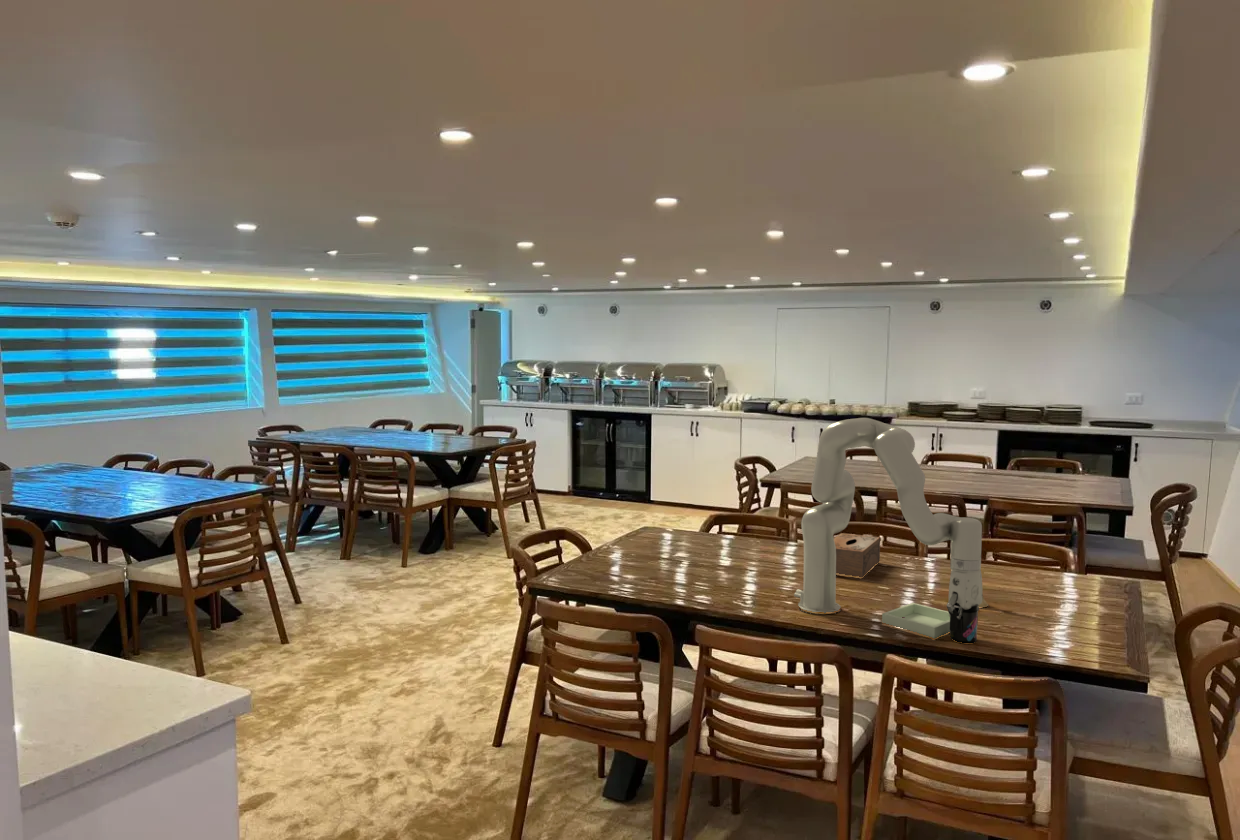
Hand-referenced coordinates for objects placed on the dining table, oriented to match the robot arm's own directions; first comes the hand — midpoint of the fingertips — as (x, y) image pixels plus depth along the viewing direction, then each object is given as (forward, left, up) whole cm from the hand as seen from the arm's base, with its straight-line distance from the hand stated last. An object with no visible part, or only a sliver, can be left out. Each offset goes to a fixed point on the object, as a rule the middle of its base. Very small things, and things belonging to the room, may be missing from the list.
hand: (963, 628), depth 219 cm
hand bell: (-14, +33, -4) cm, 36 cm away
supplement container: (0, 0, -4) cm, 4 cm away
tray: (-13, +2, -3) cm, 14 cm away
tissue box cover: (-64, +41, -4) cm, 76 cm away
